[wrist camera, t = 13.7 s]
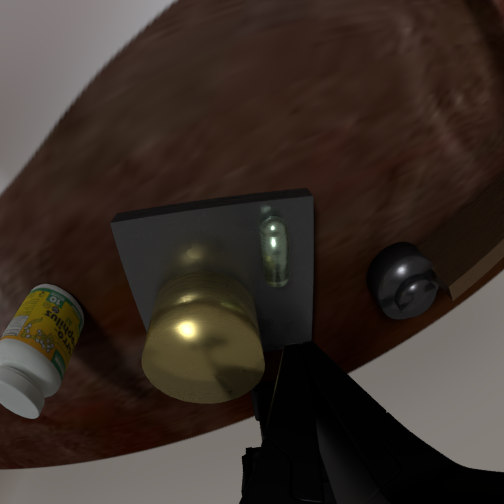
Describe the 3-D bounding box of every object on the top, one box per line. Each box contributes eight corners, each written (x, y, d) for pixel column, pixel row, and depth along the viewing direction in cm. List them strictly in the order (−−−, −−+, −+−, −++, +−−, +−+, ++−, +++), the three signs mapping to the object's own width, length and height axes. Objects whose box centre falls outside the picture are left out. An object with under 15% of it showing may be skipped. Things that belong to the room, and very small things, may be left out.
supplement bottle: (20, 290, 21) (-34, 373, 12) (62, 273, 20) (6, 368, 12) (54, 337, 23) (17, 424, 15) (97, 327, 23) (64, 425, 14)
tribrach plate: (306, 331, 25) (327, 394, 19) (161, 349, 24) (152, 414, 19) (306, 188, 19) (343, 233, 13) (117, 213, 19) (79, 267, 13)
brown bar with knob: (380, 307, 24) (407, 350, 20) (356, 268, 22) (385, 313, 17) (530, 181, 20) (567, 202, 15) (521, 135, 17) (564, 152, 13)
